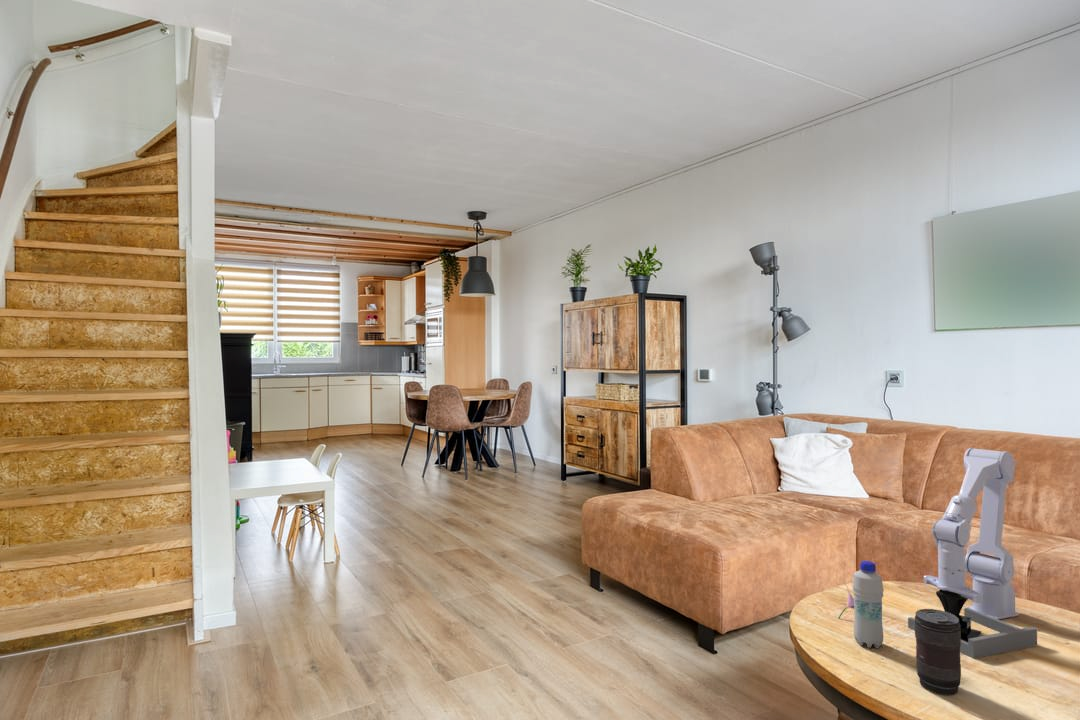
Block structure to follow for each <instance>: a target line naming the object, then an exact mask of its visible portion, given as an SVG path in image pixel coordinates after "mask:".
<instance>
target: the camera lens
mask: <svg viewBox="0 0 1080 720" xmlns="http://www.w3.org/2000/svg"><path fill="white" fill-rule="evenodd" d="M914 618H915V631H914V637H915V644H916V645H915V648H916V649H915V650H916V651H915V652H916V654H915V666H916V675H917V676H918V678H919V684H920V685H921V687H922V688H924V689H925V690H927V691H929V692H932V693H934V694H937V695H941V696H942V695H943V696H955V695H957V694H958V693H959V692H958V691H959V687H960V686H961V679H962V665H961V652H960V646H961V627H960V623H959V619H958V618H957V617H956V616H955V615H953V614H951V613H948V612H945V611H944V610H941V609H934V608H922V609H918V610H916V611H915V616H914Z"/></svg>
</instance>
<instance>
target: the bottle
mask: <svg viewBox="0 0 1080 720" xmlns="http://www.w3.org/2000/svg"><path fill="white" fill-rule="evenodd" d="M859 564H860V565H859V570H856V571H855V572H854V573H853V578H852V585H851V587H852V593H853V594H854V596H853V598H854V609H853V610H854V618H853V620H854V621H853V637H854V640H855V641H856V642H857V643H858V644H859V645H860V646H862V647H863V646H864V645H865V644H866V646H867V648H869V649H871V648H872V646H873V647H874V648H875V649H877V648H880V647H881V646H882V645H883V642H884V627H883V597H884V590H885V589H884V585H883V579H882V575H880V574H879V573H877V567H876V564H875V563H874V562H873V561H870V560H862V561H861V562H860V563H859Z"/></svg>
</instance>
